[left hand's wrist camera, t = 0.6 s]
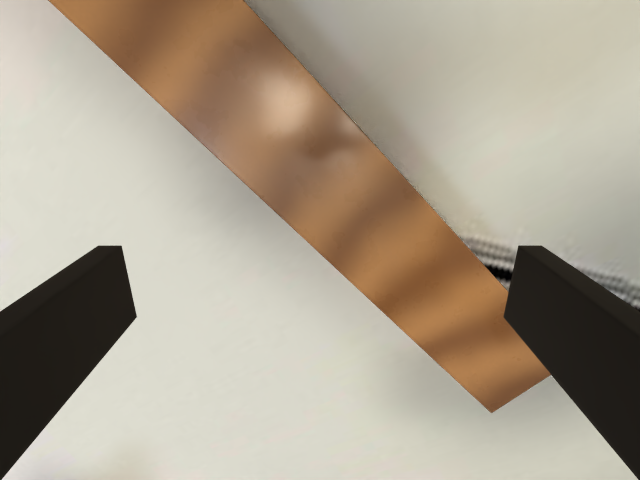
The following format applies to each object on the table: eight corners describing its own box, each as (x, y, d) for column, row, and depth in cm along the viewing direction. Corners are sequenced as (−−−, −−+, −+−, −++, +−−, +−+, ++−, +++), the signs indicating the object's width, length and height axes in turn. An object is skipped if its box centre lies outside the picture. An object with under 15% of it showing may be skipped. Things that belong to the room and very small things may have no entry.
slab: (-17, -97, 27) (-122, -158, 21) (46, -214, 25) (-50, -323, 19) (465, 365, 43) (491, 413, 36) (531, 319, 41) (571, 361, 34)
